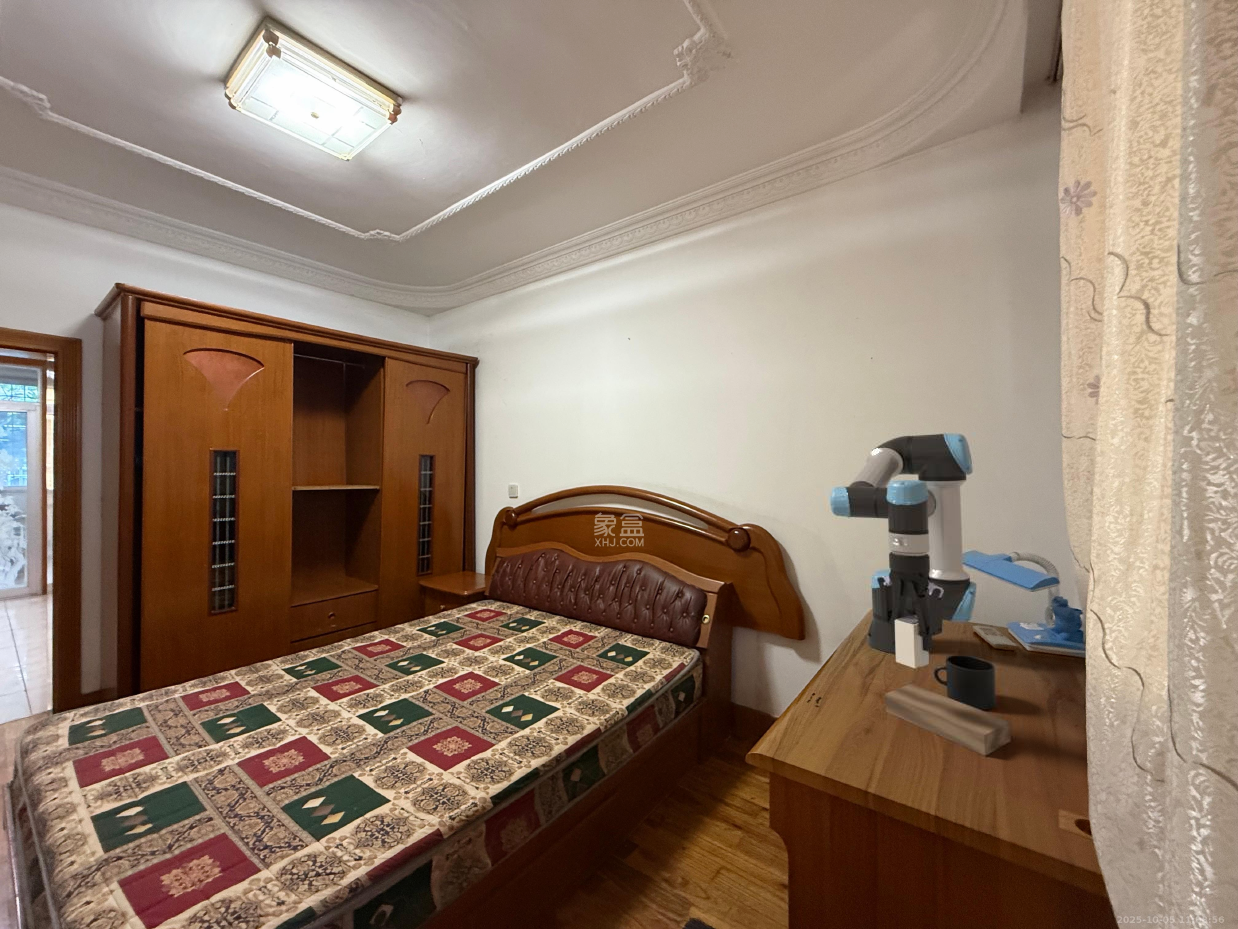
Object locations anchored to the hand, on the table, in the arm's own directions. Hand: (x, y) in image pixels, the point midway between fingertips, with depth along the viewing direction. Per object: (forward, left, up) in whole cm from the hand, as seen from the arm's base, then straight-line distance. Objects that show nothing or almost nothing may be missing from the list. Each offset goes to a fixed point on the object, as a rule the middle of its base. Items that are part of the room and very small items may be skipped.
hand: (912, 660), depth 104 cm
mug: (-22, -1, -15) cm, 27 cm away
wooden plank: (-6, +3, -14) cm, 16 cm away
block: (0, 0, 0) cm, 0 cm away
